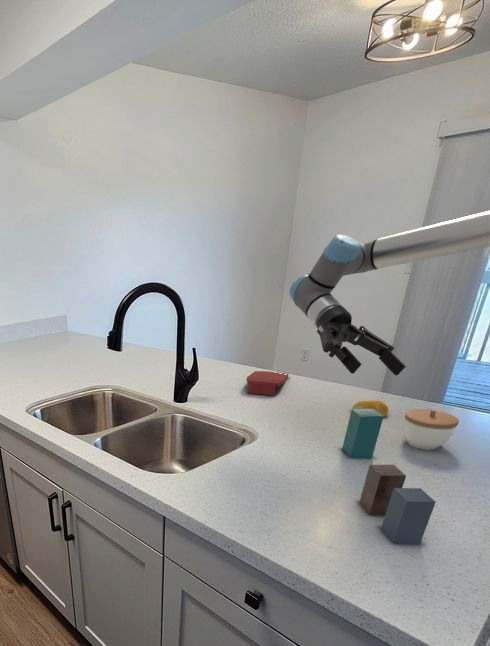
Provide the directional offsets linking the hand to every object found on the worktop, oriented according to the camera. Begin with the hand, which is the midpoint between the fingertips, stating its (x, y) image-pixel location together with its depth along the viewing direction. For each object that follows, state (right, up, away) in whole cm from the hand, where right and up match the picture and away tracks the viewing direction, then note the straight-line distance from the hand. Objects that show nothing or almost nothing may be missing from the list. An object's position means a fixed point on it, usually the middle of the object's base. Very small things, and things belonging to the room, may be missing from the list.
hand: (379, 370), depth 101 cm
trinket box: (+18, -17, +10) cm, 27 cm away
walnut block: (-10, -31, -13) cm, 35 cm away
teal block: (0, -19, +8) cm, 21 cm away
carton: (-1, +7, +59) cm, 59 cm away
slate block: (-11, -35, -21) cm, 42 cm away
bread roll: (+17, -7, +30) cm, 35 cm away
